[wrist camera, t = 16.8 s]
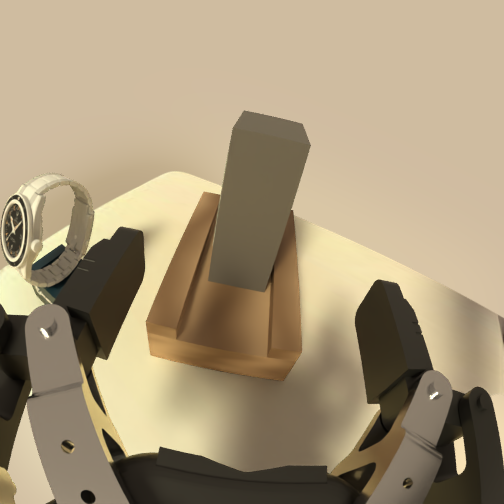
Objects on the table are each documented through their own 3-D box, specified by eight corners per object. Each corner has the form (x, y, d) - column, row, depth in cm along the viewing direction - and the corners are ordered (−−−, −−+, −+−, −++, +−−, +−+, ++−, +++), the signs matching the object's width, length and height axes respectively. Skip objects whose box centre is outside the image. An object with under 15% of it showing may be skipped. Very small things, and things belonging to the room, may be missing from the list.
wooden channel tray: (283, 240, 34) (293, 210, 32) (283, 380, 20) (301, 352, 18) (199, 223, 34) (203, 191, 31) (150, 355, 20) (145, 321, 17)
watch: (21, 306, 19) (-20, 197, 12) (80, 260, 25) (65, 154, 18) (54, 343, 18) (4, 226, 11) (118, 287, 24) (106, 171, 17)
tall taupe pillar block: (267, 247, 28) (302, 123, 20) (264, 292, 23) (310, 145, 16) (219, 237, 27) (242, 110, 20) (206, 280, 23) (231, 127, 15)
